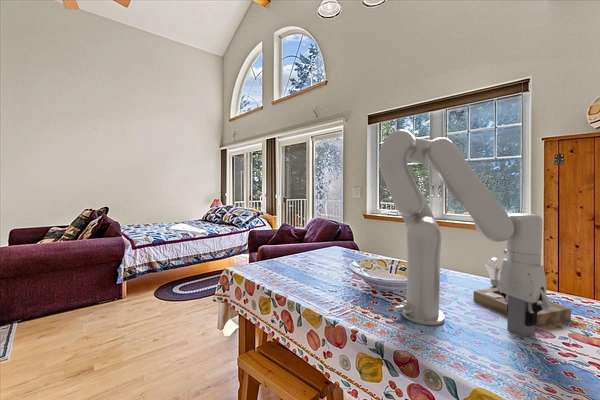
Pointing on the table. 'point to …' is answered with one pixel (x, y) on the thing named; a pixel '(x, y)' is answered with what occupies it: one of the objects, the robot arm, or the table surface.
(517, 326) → the plug
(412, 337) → the table surface
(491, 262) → the light bulb
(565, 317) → the socket block
